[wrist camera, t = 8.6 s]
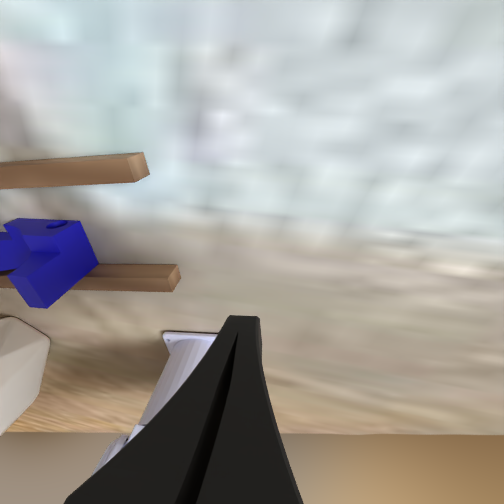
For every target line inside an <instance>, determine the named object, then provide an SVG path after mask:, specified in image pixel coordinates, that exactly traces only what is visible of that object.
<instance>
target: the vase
mask: <svg viewBox="0 0 504 504" xmlns="http://www.w3.org/2000/svg"><path fill="white" fill-rule="evenodd" d="M49 348H50V339H49V338H48V337H47V336H46V335H44V334H43V333H41V332H39V331H38V330H36V329H35V328H33V327H31V326H30V325H28V324H26V323H25V322H23V321H21V320H19V319H18V318H15V317H6V318H2V319H0V436H1V435H2V434H3V433H4V432H5V431H6V430H7V429H8V428H9V427H10V426H11V425H12V424H13V423H14V422H15V421H16V420H17V419H18V418H19V417H20V416H21V415H22V414H23V413H24V411H25V410H26V409H27V408H28V407H29V406H30V405H31V404H32V403H33V402H34V401H35V399H36V398H37V396H38V394H39V391H40V387H41V383H42V379H43V375H44V371H45V367H46V362H47V358H48V354H49Z"/></svg>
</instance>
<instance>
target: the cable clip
mask: <svg viewBox="0 0 504 504" xmlns="http://www.w3.org/2000/svg"><path fill="white" fill-rule="evenodd" d="M3 226H4V227H5V229H6V230H7V232H0V271H4V270H10V269H16V270H15V271H13V272H12V273H10V274H9V275H7V277H8V278H9V279H10V281H11V282H12V284H13V285H14V286H15V288H16V289H17V290H18V292H19V293H20V295H21V296H22V297H23V299H24V300H25V302H26V303H27V304H28V306H29V307H35V308H46V309H47V308H48V307H50V306H51V305H52V304H53V303H54V302H55V301H56V300H58V299H59V298H60V297H61V296H62V295H63V294H65V293H66V292H67V291H68V290H69V289H70V288H72V287H73V286H74V285H75V284H76V283H77V282H78V281H80V280H81V279H82V278H83V277H84V276H85V275H87V274H88V273H89V272H90V271H91V270H92V269H94V268H95V267H96V266H97V265H98V264H99V263H98V261H97V258H96V256H95V254H94V252H93V249H92V247H91V245H90V243H89V240H88V238H87V236H86V234H85V231H84V229H83V227H82V225H81V222H80V221H74V220H49V219H25V218H18V219H15V220H13V221H11V222H8V223H6V224H4V225H3Z"/></svg>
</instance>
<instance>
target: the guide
mask: <svg viewBox="0 0 504 504" xmlns="http://www.w3.org/2000/svg"><path fill="white" fill-rule="evenodd" d="M148 175H150V173H149V170H148V167H147V163H146V160H145V157H144V153H143V152H142V153H128V154H114V155H100V156H85V157H71V158H57V159H43V160H29V161H15V162H0V189H13V188H33V187H53V186H73V185H93V184H113V183H133V182H137V181H139V180H140V179H142V178H144V177H146V176H148ZM15 270H16V269H10V270H4V271H0V288H15V286H14V285H13V284H12V282H11V281H10V279H9V278H8V277H7V275H9V274H10V273H12V272H13V271H15ZM180 279H181V276H180V272H179V269H178V266H177V265H153V264H98V265H97V266H96V267H95V268H94V269H92V270H91V271H90V272H89V273H88V274H87V275H85V276H84V277H83V278H82V279H81V280H80V281H78V282H77V283H76V284H75V285H74V286H73V287H72V288H70V289H69V290H106V291H146V292H173V290H174V289H175V287H176V285H177V284H178V282H179V280H180Z"/></svg>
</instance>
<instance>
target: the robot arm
mask: <svg viewBox="0 0 504 504" xmlns="http://www.w3.org/2000/svg"><path fill="white" fill-rule="evenodd" d="M163 339H164V341H165V344H166V346H167V348H168V351H169V353H170V357H169V359H168V361H167V363H166V365H165V367H164V370H163V372H162V374H161V376H160V378H159V380H158V382H157V385H156V387H155V389H154V391H153V393H152V395H151V398H150V400H149V402H148V404H147V406H146V408H145V411H144V413H143V415H142V417H141V419H140V421H139V424H136V425H135V426H134V428H133V431H132V433H131V435H130V437H129V436H128V435H125V434H122V435H121V436H120V437H119V438H117V439H115V440H113V441H112V442H111V443H110V444H109V446H108V448H107V449H106V451H105V452H104V454H103V455H102V457H101V459H100V461H99V463H98V464H97V466H96V468H95V470H94V472H93V474H92V475H91V477H90V478H89V479H88V480H87V481H85V482H84V483H83V484H82V485H81V486H80V487H79V488H77V489H76V490H75V491H74V492H73V493H72V494H70V495H69V496H68V497H67V499H66V500H65V502H64V504H303V501H302V498H301V495H300V493H299V490H298V487H297V485H296V481H295V478H294V476H293V473H292V470H291V467H290V464H289V461H288V458H287V455H286V452H285V449H284V446H283V443H282V440H281V437H280V433H279V430H278V427H277V423H276V420H275V417H274V413H273V409H272V406H271V402H270V398H269V394H268V390H267V386H266V381H265V377H264V372H263V367H262V339H261V328H260V318H258V317H257V316H235V315H230V316H229V317H228V318H227V320H226V321H225V323H224V325H223V327H222V328H221V330H220V332H219V333H218V334H202V333H182V332H164V334H163ZM128 437H129V439H128Z"/></svg>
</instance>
